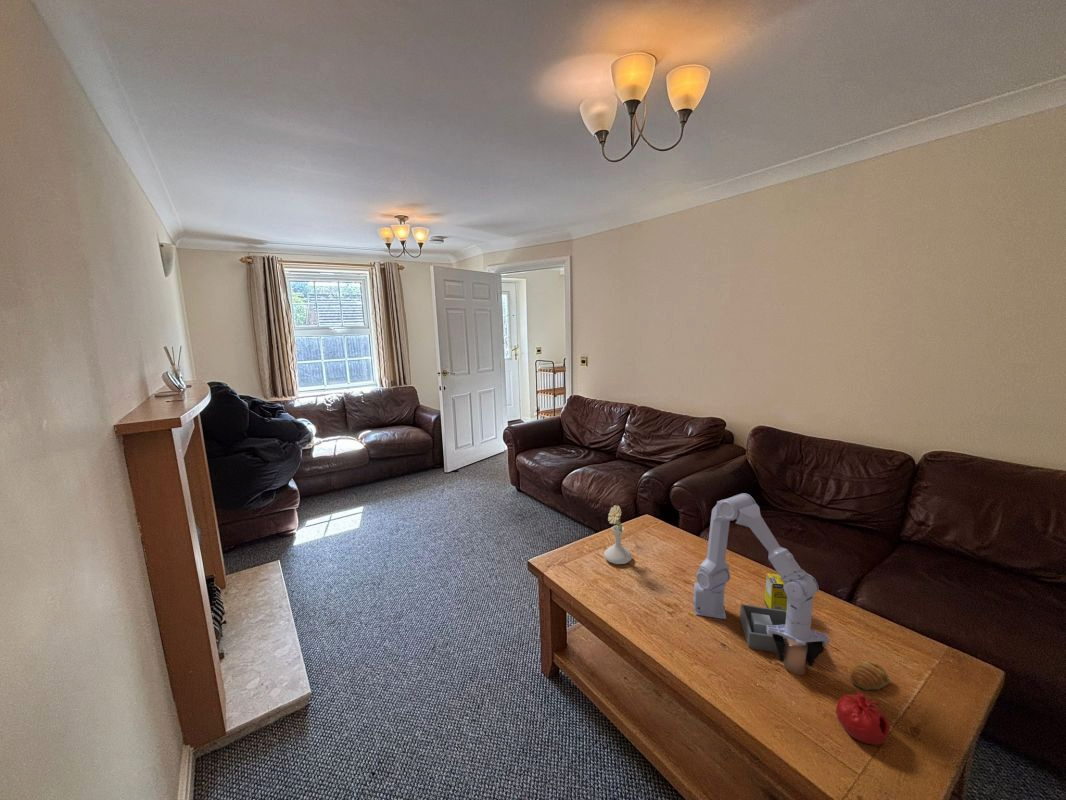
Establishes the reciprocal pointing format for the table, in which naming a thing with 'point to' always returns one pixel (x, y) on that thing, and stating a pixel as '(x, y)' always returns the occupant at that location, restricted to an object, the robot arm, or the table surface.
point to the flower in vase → (617, 540)
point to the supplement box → (775, 592)
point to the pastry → (869, 676)
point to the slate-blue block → (759, 623)
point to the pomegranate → (862, 719)
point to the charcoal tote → (758, 639)
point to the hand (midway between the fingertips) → (794, 661)
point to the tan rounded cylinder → (795, 657)
